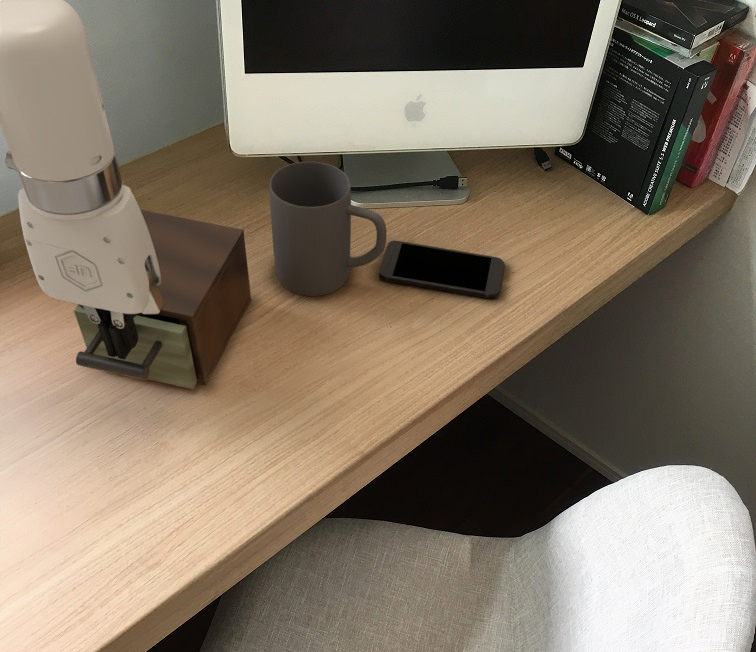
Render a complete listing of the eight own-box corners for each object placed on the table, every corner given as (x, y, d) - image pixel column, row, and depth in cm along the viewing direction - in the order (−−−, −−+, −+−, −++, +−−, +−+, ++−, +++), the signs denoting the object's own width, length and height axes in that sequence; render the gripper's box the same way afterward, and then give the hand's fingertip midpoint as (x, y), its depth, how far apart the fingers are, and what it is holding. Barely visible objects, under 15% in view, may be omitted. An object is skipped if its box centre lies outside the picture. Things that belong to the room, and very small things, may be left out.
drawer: (175, 423, 80) (161, 367, 74) (71, 399, 81) (49, 343, 75) (237, 307, 90) (230, 250, 84) (145, 288, 92) (131, 231, 85)
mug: (263, 287, 94) (255, 197, 84) (291, 243, 99) (286, 153, 89) (371, 314, 92) (375, 225, 82) (394, 267, 97) (400, 179, 88)
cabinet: (205, 385, 84) (192, 316, 77) (97, 361, 86) (73, 291, 78) (251, 299, 93) (243, 229, 85) (151, 279, 94) (135, 208, 86)
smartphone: (498, 301, 94) (500, 294, 94) (376, 280, 96) (377, 274, 95) (505, 263, 99) (506, 257, 98) (388, 244, 100) (388, 238, 99)
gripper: (-40, 186, 61) (35, 359, 76) (139, 220, 59) (180, 390, 74) (9, 137, 65) (71, 309, 80) (178, 167, 64) (209, 338, 79)
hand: (123, 348), depth 77 cm, fingers closed
